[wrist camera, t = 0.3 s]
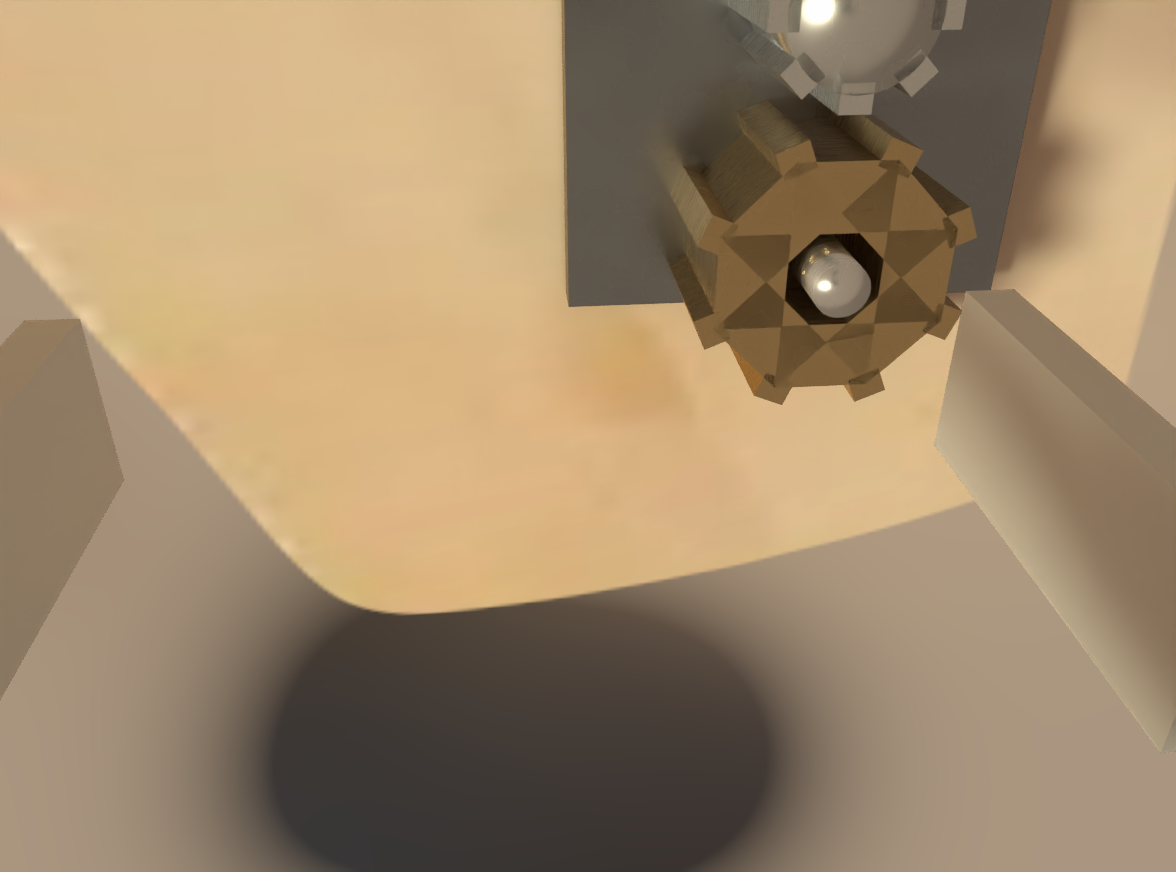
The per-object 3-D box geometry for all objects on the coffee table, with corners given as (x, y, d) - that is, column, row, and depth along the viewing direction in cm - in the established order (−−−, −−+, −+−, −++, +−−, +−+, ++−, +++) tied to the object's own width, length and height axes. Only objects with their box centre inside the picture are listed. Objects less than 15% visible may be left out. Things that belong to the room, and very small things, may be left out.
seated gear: (673, 101, 38) (702, 142, 33) (929, 95, 39) (997, 134, 34) (664, 341, 43) (688, 408, 38) (891, 332, 44) (945, 397, 39)
